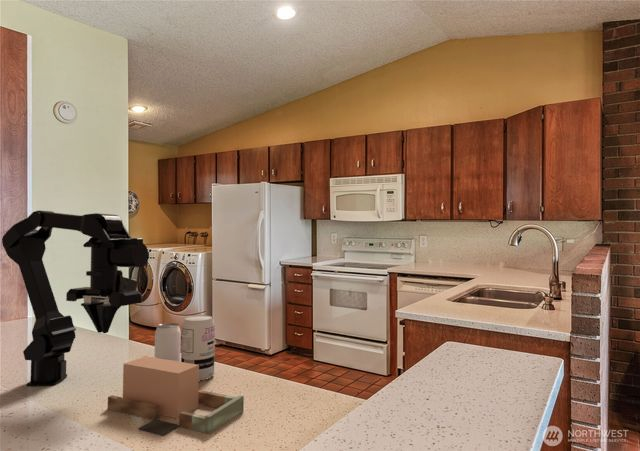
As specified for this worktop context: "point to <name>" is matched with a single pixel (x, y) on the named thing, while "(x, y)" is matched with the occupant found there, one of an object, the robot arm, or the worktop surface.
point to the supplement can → (199, 343)
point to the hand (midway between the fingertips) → (103, 332)
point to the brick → (162, 384)
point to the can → (168, 341)
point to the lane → (206, 424)
